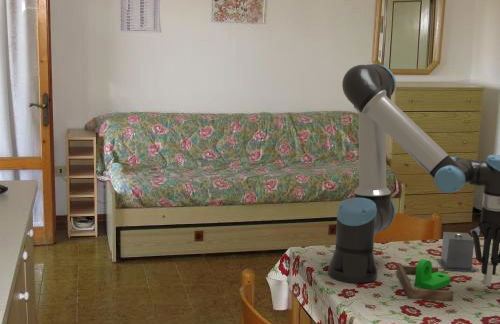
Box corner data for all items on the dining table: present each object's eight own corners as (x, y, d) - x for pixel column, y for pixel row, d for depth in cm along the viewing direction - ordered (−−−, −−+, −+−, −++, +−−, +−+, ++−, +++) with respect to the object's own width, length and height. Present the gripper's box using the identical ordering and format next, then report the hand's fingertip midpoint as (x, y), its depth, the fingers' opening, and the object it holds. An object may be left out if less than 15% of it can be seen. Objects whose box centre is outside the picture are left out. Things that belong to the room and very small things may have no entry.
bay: (408, 298, 191) (408, 288, 190) (396, 272, 212) (397, 263, 211) (452, 300, 190) (453, 290, 189) (437, 274, 211) (437, 265, 210)
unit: (443, 270, 215) (446, 237, 213) (437, 260, 225) (440, 228, 223) (475, 272, 214) (478, 239, 212) (467, 261, 224) (470, 230, 222)
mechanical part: (431, 292, 196) (434, 266, 195) (414, 286, 201) (416, 260, 199) (453, 283, 204) (456, 258, 203) (436, 277, 209) (438, 253, 207)
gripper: (476, 210, 192) (468, 287, 196) (522, 212, 191) (513, 290, 195) (469, 203, 199) (461, 278, 204) (513, 206, 198) (505, 281, 203)
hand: (487, 284), depth 199 cm, fingers closed
